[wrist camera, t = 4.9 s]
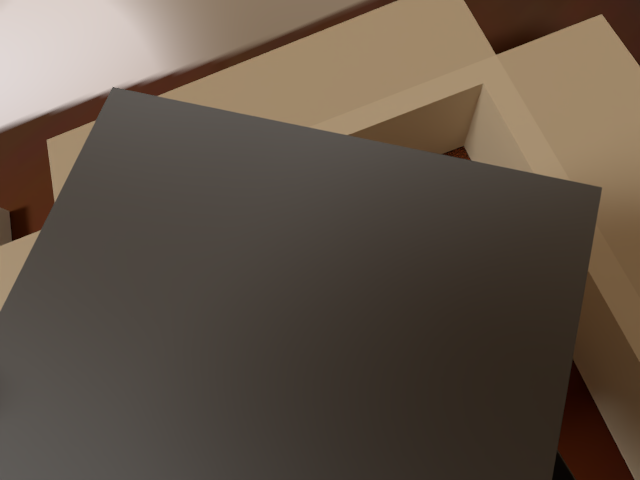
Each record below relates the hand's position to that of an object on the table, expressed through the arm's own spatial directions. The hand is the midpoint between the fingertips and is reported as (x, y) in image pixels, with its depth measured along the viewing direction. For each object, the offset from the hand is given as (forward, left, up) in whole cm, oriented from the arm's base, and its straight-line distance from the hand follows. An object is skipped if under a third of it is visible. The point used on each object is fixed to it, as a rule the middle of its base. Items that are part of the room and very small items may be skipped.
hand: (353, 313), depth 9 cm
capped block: (-1, +1, -7) cm, 7 cm away
